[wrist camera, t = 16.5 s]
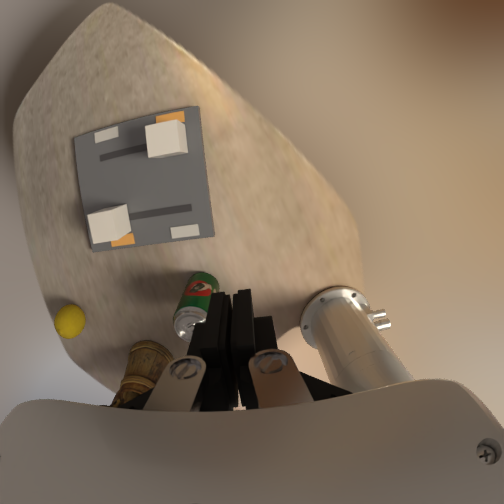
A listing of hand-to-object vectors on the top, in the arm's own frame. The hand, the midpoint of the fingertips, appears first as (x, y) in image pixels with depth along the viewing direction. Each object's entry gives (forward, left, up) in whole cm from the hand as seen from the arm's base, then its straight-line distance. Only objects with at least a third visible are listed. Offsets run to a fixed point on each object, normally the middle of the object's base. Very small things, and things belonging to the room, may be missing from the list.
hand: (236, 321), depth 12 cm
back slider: (+18, -2, -27) cm, 33 cm away
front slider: (+8, -11, -27) cm, 30 cm away
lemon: (+32, +14, -29) cm, 46 cm away
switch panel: (+14, -6, -29) cm, 33 cm away
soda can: (+7, +11, -29) cm, 32 cm away
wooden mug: (+22, +26, -29) cm, 45 cm away
